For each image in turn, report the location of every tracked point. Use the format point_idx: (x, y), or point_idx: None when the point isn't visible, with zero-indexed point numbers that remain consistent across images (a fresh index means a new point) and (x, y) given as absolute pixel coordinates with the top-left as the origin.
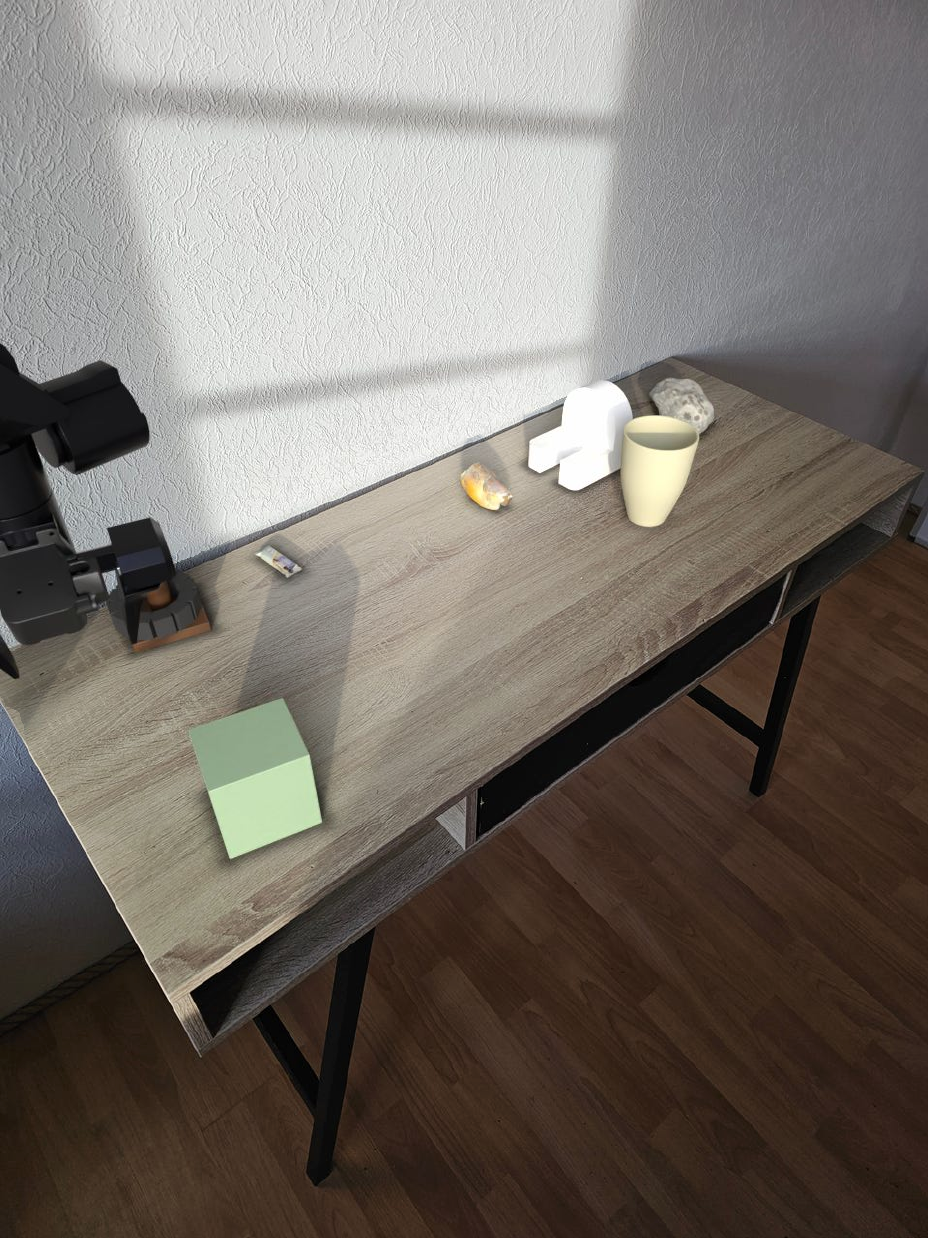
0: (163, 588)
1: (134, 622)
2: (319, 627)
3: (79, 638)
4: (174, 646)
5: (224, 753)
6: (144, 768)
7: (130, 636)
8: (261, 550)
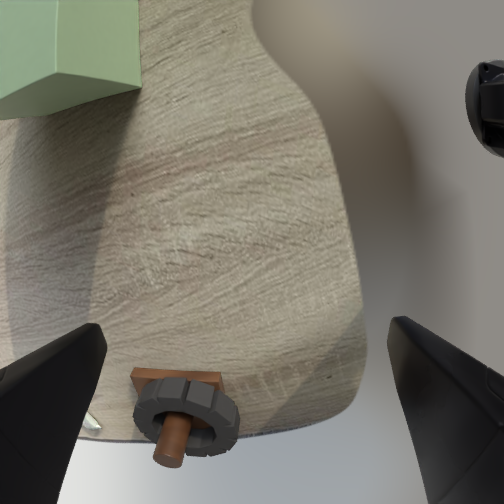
0: (162, 433)
1: (30, 359)
2: (31, 318)
3: (281, 408)
4: (174, 363)
5: (23, 11)
6: (221, 170)
7: (77, 338)
8: (96, 428)
